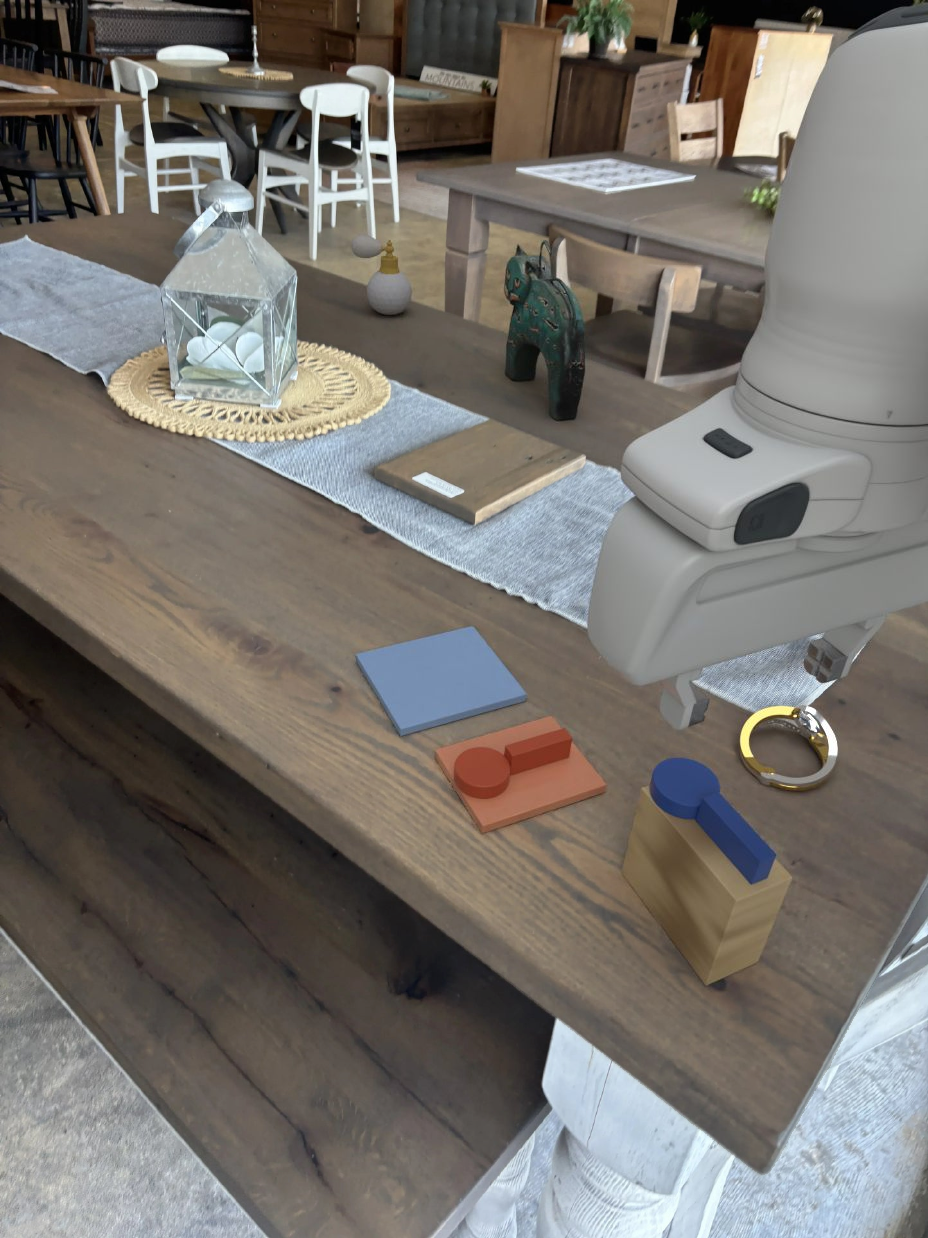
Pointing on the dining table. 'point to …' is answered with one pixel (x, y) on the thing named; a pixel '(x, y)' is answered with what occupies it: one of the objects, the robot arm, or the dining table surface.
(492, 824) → the terracotta tile
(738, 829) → the blue spoon
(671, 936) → the spoon stand
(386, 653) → the blue tile
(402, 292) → the perfume bottle
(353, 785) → the dining table surface
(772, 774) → the ring
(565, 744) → the terracotta spoon
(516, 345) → the ceramic cat
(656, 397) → the dining table surface
